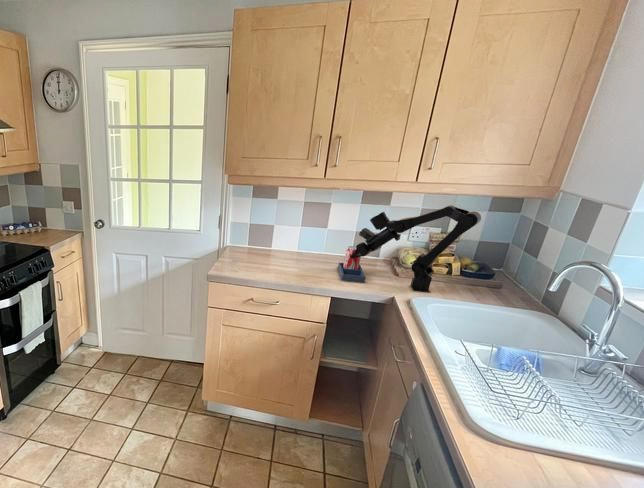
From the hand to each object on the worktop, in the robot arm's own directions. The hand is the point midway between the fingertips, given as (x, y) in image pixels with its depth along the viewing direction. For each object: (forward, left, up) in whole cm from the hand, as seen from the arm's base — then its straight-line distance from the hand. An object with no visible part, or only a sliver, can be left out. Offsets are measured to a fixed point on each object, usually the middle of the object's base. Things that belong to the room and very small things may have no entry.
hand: (354, 255), depth 205 cm
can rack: (+1, +4, -9) cm, 10 cm away
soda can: (+1, 0, -8) cm, 8 cm away
